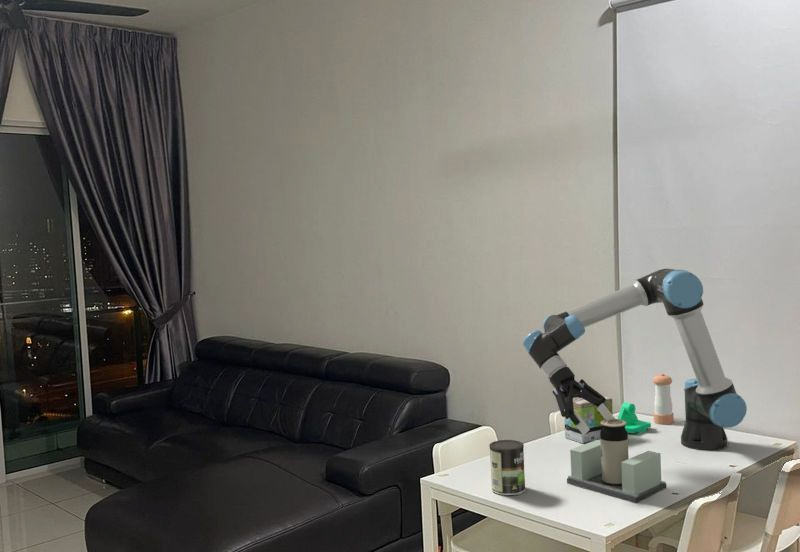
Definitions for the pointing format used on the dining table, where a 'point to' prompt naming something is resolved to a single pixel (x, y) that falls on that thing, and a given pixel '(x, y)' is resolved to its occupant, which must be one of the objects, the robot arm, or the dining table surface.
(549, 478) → the dining table surface
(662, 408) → the pepper shaker
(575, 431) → the tea box
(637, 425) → the camera mount
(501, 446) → the coffee can
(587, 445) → the grey block holder
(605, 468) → the travel mug
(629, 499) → the rail plate
